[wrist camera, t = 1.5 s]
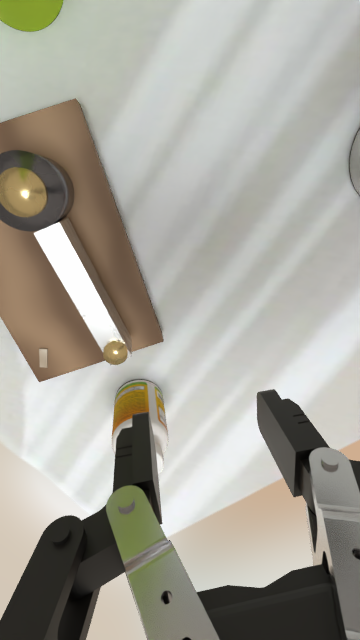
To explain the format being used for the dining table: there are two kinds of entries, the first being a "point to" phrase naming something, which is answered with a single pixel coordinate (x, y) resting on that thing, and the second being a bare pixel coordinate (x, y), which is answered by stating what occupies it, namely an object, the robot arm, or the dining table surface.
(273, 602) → the robot arm
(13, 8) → the soap dispenser
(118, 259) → the walnut stand
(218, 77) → the dining table surface
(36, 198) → the bar
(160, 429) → the supplement bottle
